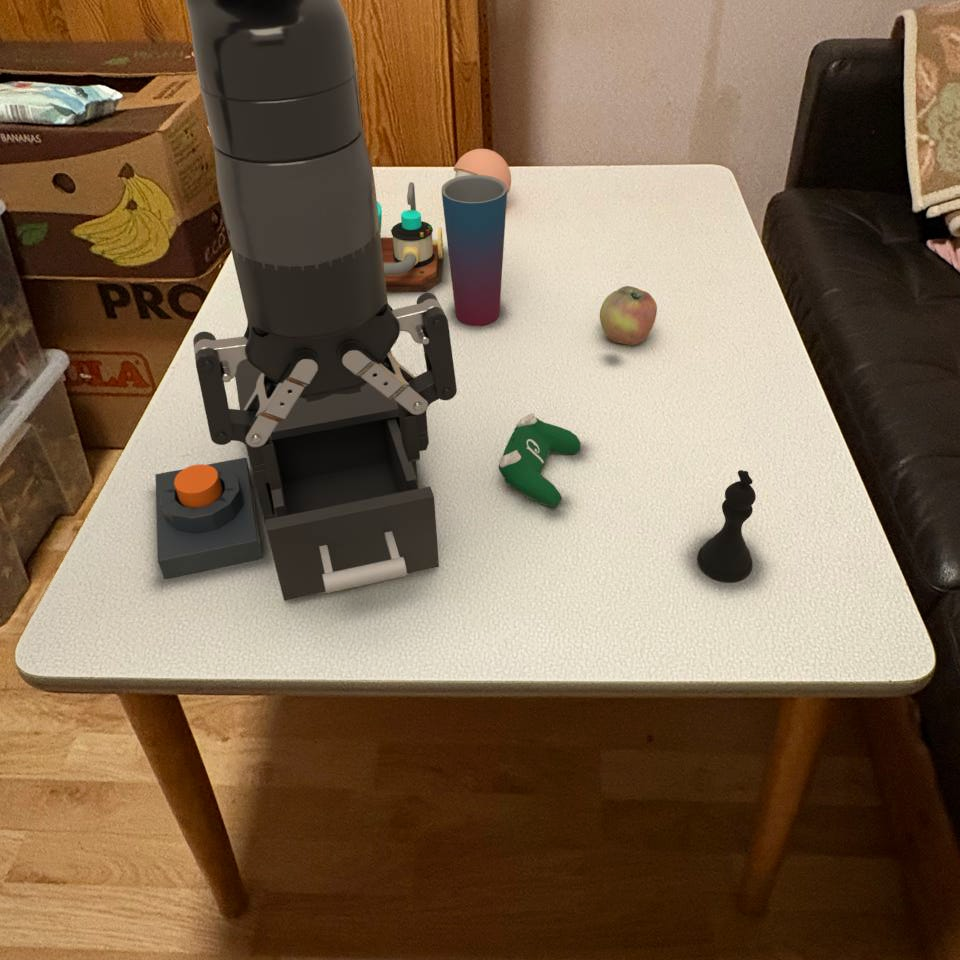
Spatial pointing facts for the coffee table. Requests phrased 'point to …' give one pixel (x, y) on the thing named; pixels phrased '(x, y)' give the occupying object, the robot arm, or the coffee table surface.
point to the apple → (628, 315)
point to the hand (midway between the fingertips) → (344, 467)
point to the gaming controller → (535, 457)
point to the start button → (198, 485)
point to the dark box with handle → (348, 511)
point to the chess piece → (730, 536)
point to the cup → (475, 245)
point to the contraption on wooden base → (411, 252)
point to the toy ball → (484, 165)
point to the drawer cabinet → (316, 417)
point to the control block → (207, 524)
